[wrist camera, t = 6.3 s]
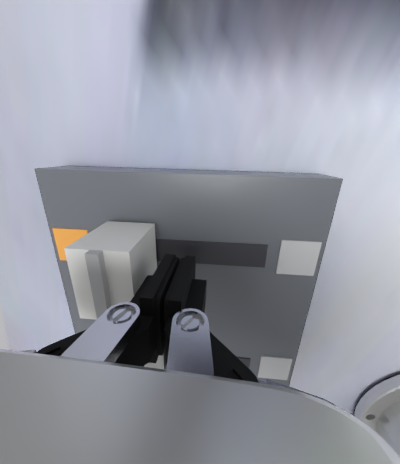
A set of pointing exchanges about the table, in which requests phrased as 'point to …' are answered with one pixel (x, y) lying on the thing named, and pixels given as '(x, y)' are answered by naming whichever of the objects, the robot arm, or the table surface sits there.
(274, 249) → the switch panel
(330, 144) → the table surface
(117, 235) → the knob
